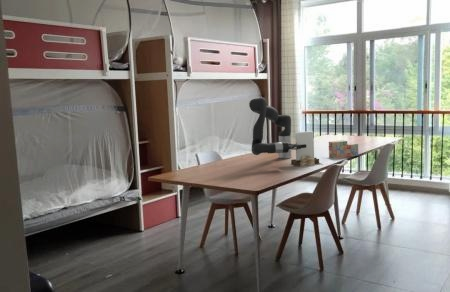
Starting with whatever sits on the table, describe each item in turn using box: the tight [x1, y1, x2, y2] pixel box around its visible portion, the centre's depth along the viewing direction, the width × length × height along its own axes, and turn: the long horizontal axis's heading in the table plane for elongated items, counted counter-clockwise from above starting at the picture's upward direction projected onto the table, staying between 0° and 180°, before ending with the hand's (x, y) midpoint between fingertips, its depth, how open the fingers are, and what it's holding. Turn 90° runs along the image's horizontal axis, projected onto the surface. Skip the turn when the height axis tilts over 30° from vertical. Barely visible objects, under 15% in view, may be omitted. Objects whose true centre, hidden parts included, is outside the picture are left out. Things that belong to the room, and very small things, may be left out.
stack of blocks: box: [328, 139, 359, 159], centre depth 330 cm, size 21×6×12 cm, turn 104°
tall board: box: [294, 130, 315, 160], centre depth 300 cm, size 12×3×22 cm, turn 99°
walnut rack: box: [290, 157, 324, 168], centre depth 299 cm, size 20×12×4 cm, turn 99°
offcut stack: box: [300, 156, 316, 167], centre depth 295 cm, size 9×5×6 cm, turn 99°
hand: (305, 145), depth 300 cm, fingers closed on tall board, 3 cm apart
